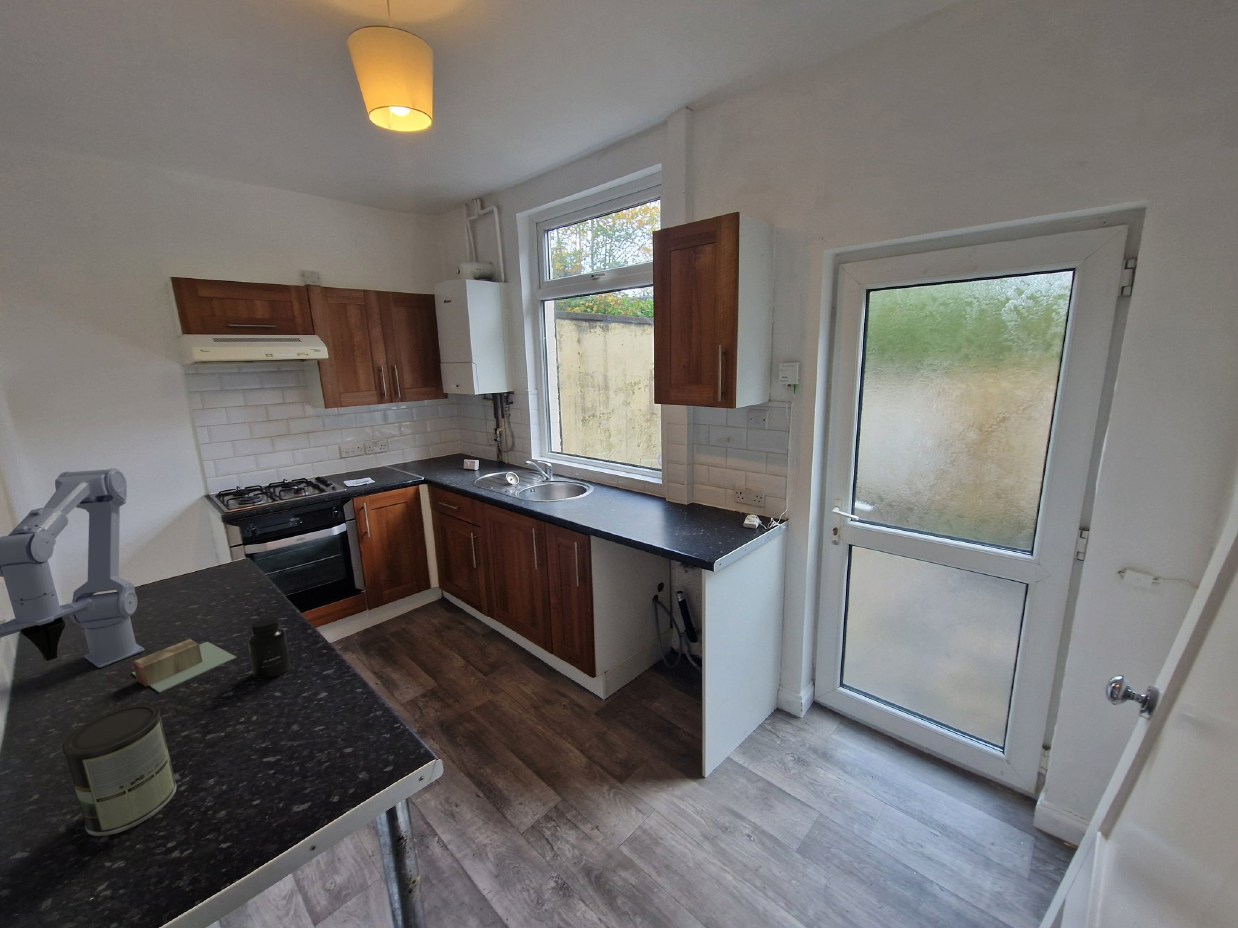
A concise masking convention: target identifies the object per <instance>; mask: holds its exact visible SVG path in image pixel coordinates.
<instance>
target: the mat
mask: <svg viewBox="0 0 1238 928" xmlns="http://www.w3.org/2000/svg"><path fill="white" fill-rule="evenodd" d="M199 647H200V652H201V657H202V662H201V663H199V664H196V665H194V666H192V667H190V668H187V669H185V670H183V671H180V672H178V673H176V674H174V675H171V676H169V677H167V678H165V679H162V680H160V681H158V682H155V683H153V684H151V685H149V687H150V688H152V689H154V690H155V691H156V692H157V693H159V694H162V693H163V692H166V691H167V690H169V689H171V688H174V687H176V686H178V685H180V684H184V683H185V682H187V681H189V680H191V679H193V678H196V677H198V676H200V675H202V674H205V673H207V672H209V671H211V670H213V669H215V668H218V667H220V666H223V665H225V664H226V663H228V662H229V663H230V662H231V661H234V660H236V659H237V656H236V655H234V654H232V653H230V652H228V651H226V650H224V649H223V648H221V647H218V646H217V645H214V644H213V643H211V642H209V641H206V642H202V643H201V644H199ZM131 674H132V675H133V676H135V677H136V675H135V671H133V672H131Z"/></svg>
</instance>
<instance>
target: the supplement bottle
mask: <svg viewBox="0 0 1238 928" xmlns="http://www.w3.org/2000/svg"><path fill="white" fill-rule="evenodd" d="M250 627H251V634H252V635H250V637H249V638H248V641H247V646H248V652H249V658H250V659H249V660H250V665H251V671H252V676H253V677H254V678H255V679H256V680H260V681H261V680H262V681H264V680H270V679H273V678H276V677H279V676H280V675H283V674H284V673H286V672H287V671H288V670H289V668H290V665H291V662H290V661H291V660H290V653H289V646H288V640H287V632H286V631H285V630H284V629H283V628H282V627H280V621H279V619H278V617H276V616H266V617H262V618H259V619H257V620H255V621H253V622H252V623H251V626H250Z"/></svg>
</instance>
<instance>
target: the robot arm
mask: <svg viewBox="0 0 1238 928" xmlns="http://www.w3.org/2000/svg"><path fill="white" fill-rule="evenodd" d="M54 487H55V492H54V493H53V494H52V496H51V497H50V499H48V501H47V503H46V504H44V507H38V508H36V509H31V510H30V511H29V512H28V514H27V515H26V516H25V517H24V518H23V519H22V520H21V522H19V523H18V524H17V525H16V527H14V528H13V529H12V531H11V532H10V533H8V535H2V536H0V577H1V578H3V580H4V583H5V588H6V591H7V594H8V598H9V601H10V604H11V607H12V613H13V615H14V619H13V618H12V619H11V620H9V621H6V622H3V623H0V639H1V638H4V637H7V636H10V635H13V634H17V633H20V634H22V635H23V637H25V638H27V639H28V640H29V641H30V642H31V643H32V644H34V646H35V647H36V648H37V649H38V651H39V652H40V654H41V655H42V657H43V659H44V660H45V661H46V662H48V661H52V660H55V659H57V658H58V649H59V642H60V639H61V635H62V633H63V631H64V629H65V628H66V621H64V620H63V619H65V618H68V617H69V619H70V620H71V621H72V622H73V623H74V624H75V625H80V628H81V629H84V635H85V639H86V643H87V648H88V651H89V653H87V654H84V655H83V656H84V659H86V660H87V661H89V662H90V663H91V664H93V665H94V666H95V667H97V668H100V669H101V668H103V667H105V666H109V665H111V664H114V663H116V662H118V661H121V660H124V659H126V658H129V657H132V656H134V655H137V654H139V653H142V652H144V651H145V648H144V647H143V646H141V645H139V644H138V643H137V641H136V638H135V634H134V628H133V626H132V621H131V616H133V614H134V613H135V612H136V610H137V607H138V596H137V594H136V591H135V590H136V587H135V584H133V583H132V582H131V581H128V580H126V579H123V578H121V577H120V572H119V571H120V522H121V521H120V518H121V517H120V514H121V513H120V509H121V507H122V506H124V505H125V504H126V503H127V496H128V495H127V492H128V491H127V487H128V485H127V479H126V477H125V476H124V474H123V473H122V471H120V469H118V468H109V469H108V468H107V469H95V470H80V471H64V472H61V473H60V474H59V475H58V476H57V478H56V479H55V480H54ZM75 508H77V509H81V510H85V511H86V512H87V513H88V545H87V546H88V549H87V551H88V553H87V581H86V582H85V583H83V584H82V585H80V586H79V587H78V588H76V589H75V590H74V591H73V595H72V599H71V603H68V604H67V603H66V604H63V605H60V602H59V597H58V594H57V590H56V586H55V583H54V578H53V575H52V571H51V568H50V565H49V564H50V563H49V560H50V558H52V556H53V553H54V549H55V545H56V544H57V543H56V542H57V540H56V538H57V537H58V536H59V535H60V533H62V531H63V530H64V529H65V528H66V527H67V525H68V524H69V518H68V514H69V513H70V512H71V511H73V509H75ZM110 591H111V592H110ZM103 592H105V593H103Z"/></svg>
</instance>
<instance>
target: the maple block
mask: <svg viewBox="0 0 1238 928" xmlns="http://www.w3.org/2000/svg"><path fill="white" fill-rule="evenodd" d="M199 645H200V644H199V643H198V642H196V641H195V640H192V639H191V638H190V639H187V640H184V641H181V642H179V643H176V644H174V645H171V646H168V647H166V648H163V649H162V650H159V651H156V652H153V653H151V654H149V655H145V656H143V657H141V658H139V659H136V660H134V661H132V666H133V670H134V672H135V675H136V676H135V675H134V676H135V678H136V681H137V682H138V683H140V684H141V685H143V686H144V687H148V686H149V685H151V684H153V683H155V682H158V681H160V680H162V679H165V678H167V677H169V676H171V675H174V674H176V673H178V672H180V671H183V670H185V669H187V668H190V667H192V666H194V665H196V664H199V663H201V662H202V657H201V652H200V647H199ZM149 687H150V686H149Z"/></svg>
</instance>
